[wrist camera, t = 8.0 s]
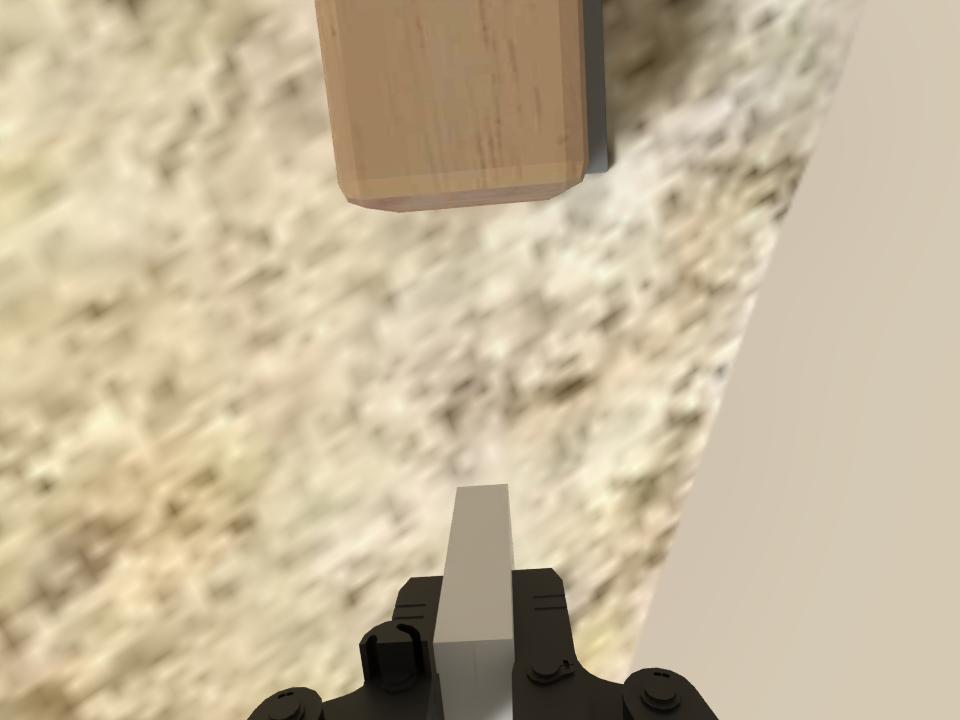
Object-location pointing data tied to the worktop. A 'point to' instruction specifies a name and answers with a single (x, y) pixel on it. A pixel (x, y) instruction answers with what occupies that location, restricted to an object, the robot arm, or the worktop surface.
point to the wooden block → (455, 100)
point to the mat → (595, 86)
